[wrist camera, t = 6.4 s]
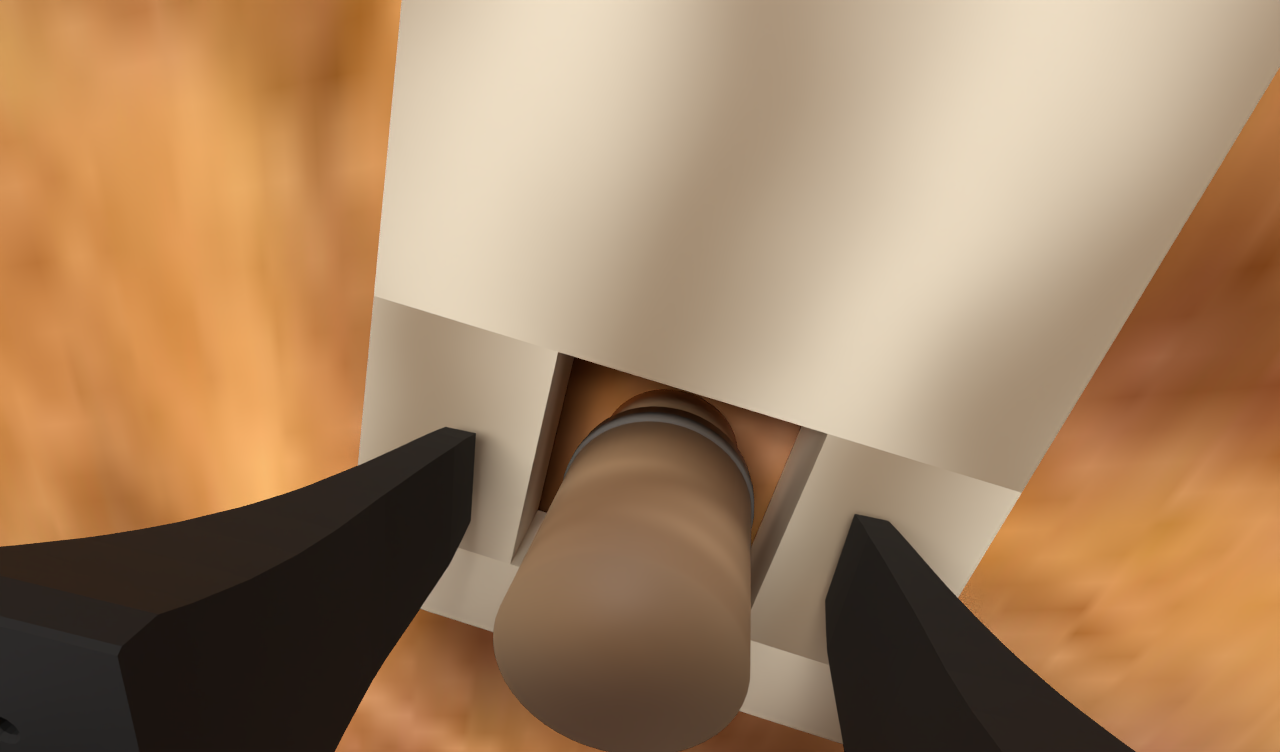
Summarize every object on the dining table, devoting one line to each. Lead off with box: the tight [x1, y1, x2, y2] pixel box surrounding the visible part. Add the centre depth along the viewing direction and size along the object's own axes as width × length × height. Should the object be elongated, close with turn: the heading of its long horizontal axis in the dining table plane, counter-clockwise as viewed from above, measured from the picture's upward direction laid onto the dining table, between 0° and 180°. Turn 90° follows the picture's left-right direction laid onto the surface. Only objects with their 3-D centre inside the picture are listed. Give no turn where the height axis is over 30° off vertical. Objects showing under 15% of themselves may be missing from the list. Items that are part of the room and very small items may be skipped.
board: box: [358, 0, 1280, 744], centre depth 12 cm, size 12×16×2 cm
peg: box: [493, 390, 754, 752], centre depth 12 cm, size 4×4×6 cm
